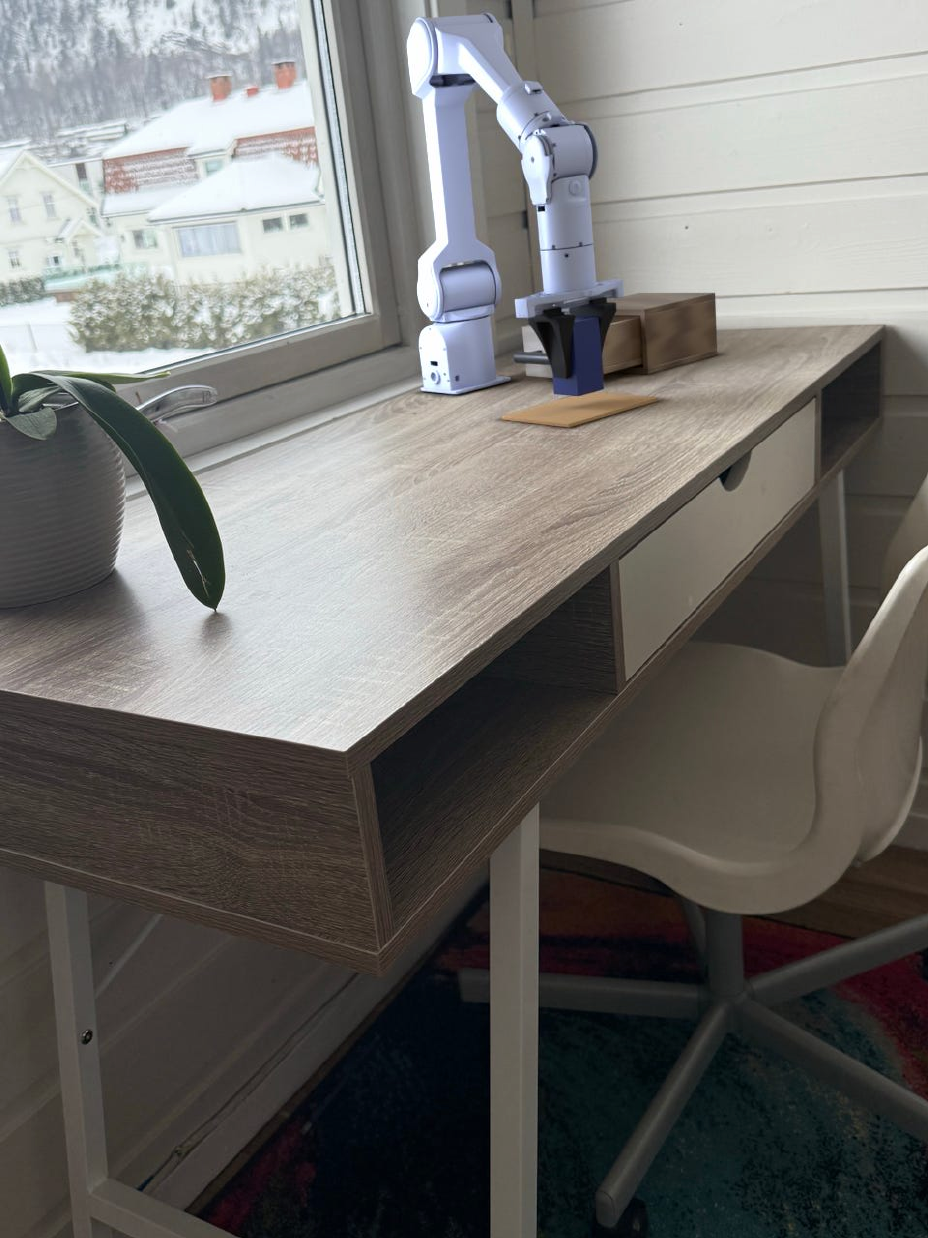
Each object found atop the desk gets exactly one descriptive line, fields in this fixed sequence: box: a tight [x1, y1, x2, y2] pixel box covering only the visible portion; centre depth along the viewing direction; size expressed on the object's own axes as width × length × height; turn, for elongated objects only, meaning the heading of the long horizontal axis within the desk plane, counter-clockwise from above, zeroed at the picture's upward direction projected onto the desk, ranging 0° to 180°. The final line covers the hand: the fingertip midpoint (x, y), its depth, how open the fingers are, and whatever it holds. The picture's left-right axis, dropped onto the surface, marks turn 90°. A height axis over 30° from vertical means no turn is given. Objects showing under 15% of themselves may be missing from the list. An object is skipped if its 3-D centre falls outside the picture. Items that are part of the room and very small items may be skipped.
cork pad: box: [501, 391, 659, 429], centre depth 129 cm, size 14×11×1 cm
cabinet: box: [569, 292, 718, 375], centre depth 153 cm, size 14×14×8 cm
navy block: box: [551, 316, 605, 397], centre depth 127 cm, size 4×4×8 cm
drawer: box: [513, 315, 643, 379], centre depth 147 cm, size 17×12×6 cm
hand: (576, 373), depth 128 cm, fingers closed on navy block, 4 cm apart
